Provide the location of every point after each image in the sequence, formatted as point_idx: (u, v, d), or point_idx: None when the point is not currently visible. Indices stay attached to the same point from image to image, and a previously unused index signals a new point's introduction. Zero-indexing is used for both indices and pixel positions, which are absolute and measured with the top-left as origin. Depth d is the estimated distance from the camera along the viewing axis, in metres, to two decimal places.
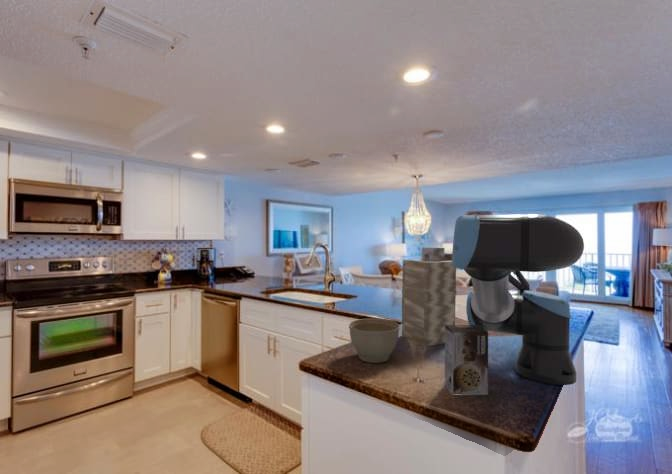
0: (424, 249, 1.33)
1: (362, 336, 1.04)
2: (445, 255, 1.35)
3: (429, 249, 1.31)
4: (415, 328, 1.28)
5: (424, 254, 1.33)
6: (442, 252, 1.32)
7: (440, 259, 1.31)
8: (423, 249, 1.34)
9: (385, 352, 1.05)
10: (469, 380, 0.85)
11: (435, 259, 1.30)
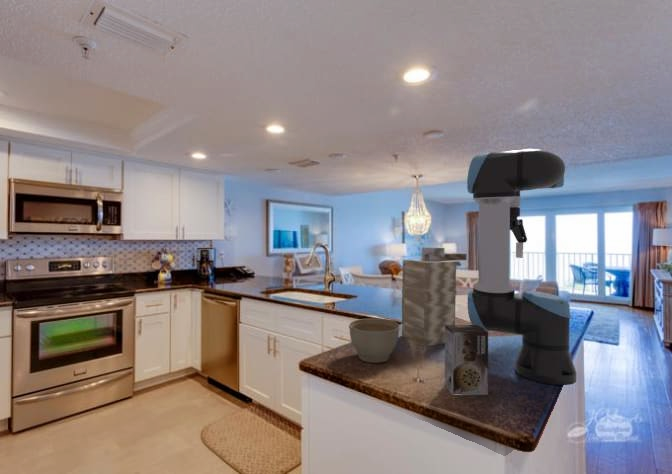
0: (424, 249, 1.33)
1: (362, 336, 1.04)
2: (445, 255, 1.35)
3: (429, 249, 1.31)
4: (415, 328, 1.28)
5: (424, 254, 1.33)
6: (442, 252, 1.32)
7: (440, 259, 1.31)
8: (423, 249, 1.34)
9: (385, 352, 1.05)
10: (469, 380, 0.85)
11: (435, 259, 1.30)
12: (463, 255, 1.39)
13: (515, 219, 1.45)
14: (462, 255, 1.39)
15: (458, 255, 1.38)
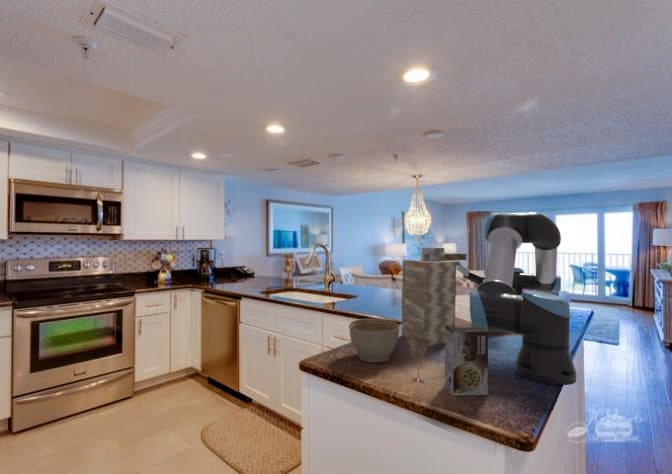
0: (424, 249, 1.33)
1: (362, 336, 1.04)
2: (445, 255, 1.35)
3: (429, 249, 1.31)
4: (415, 328, 1.28)
5: (424, 254, 1.33)
6: (442, 252, 1.32)
7: (440, 259, 1.31)
8: (423, 249, 1.34)
9: (385, 352, 1.05)
10: (469, 380, 0.85)
11: (435, 259, 1.30)
12: (463, 255, 1.39)
13: None
14: (462, 255, 1.39)
15: (458, 255, 1.38)
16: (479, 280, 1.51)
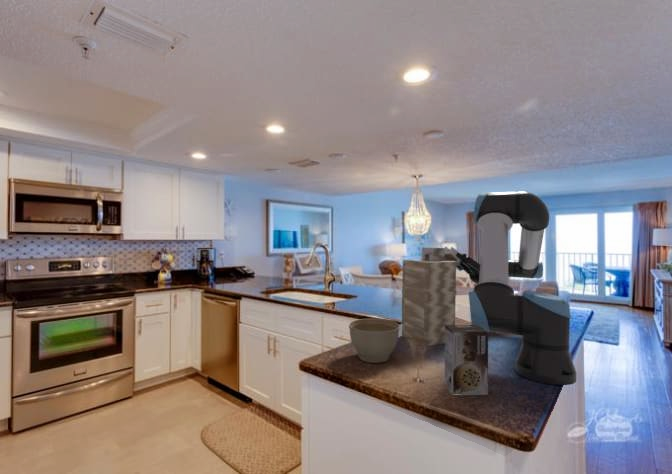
0: (424, 249, 1.33)
1: (362, 336, 1.04)
2: (445, 255, 1.35)
3: (429, 249, 1.31)
4: (415, 328, 1.28)
5: (424, 254, 1.33)
6: (442, 252, 1.32)
7: (440, 259, 1.31)
8: (423, 249, 1.34)
9: (385, 352, 1.05)
10: (469, 380, 0.85)
11: (435, 259, 1.30)
12: None
13: None
14: None
15: None
16: (463, 265, 1.43)
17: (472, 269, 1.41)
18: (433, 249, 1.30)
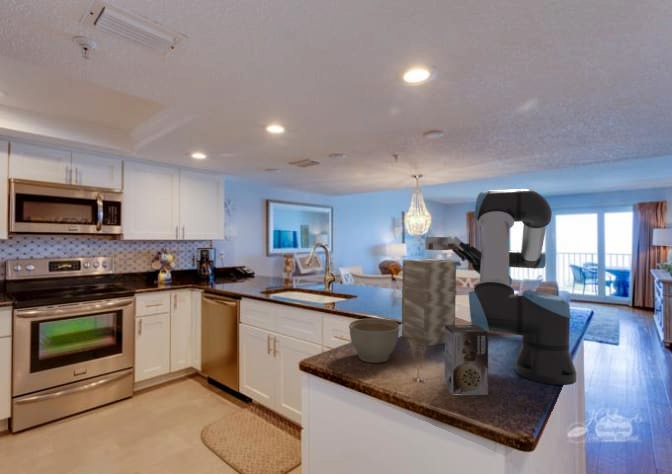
0: (428, 238, 1.34)
1: (362, 336, 1.04)
2: (449, 244, 1.36)
3: (433, 238, 1.32)
4: (415, 328, 1.28)
5: (428, 244, 1.34)
6: (446, 241, 1.33)
7: (444, 248, 1.32)
8: (427, 238, 1.35)
9: (385, 352, 1.05)
10: (469, 380, 0.85)
11: (439, 248, 1.31)
12: None
13: None
14: None
15: None
16: (467, 255, 1.44)
17: (475, 259, 1.42)
18: (437, 238, 1.31)
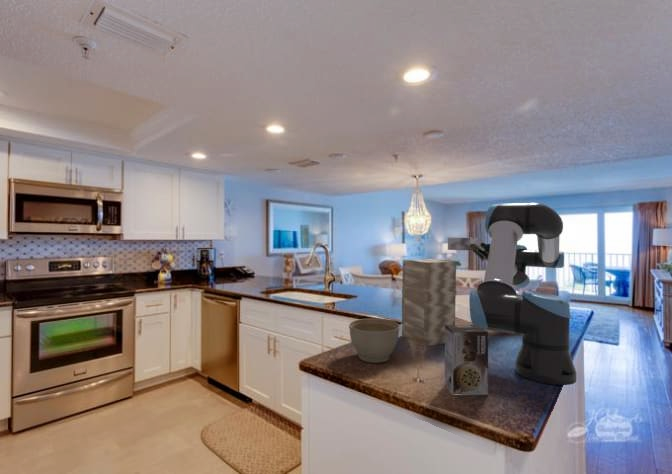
0: (450, 239, 1.40)
1: (362, 336, 1.04)
2: (470, 245, 1.41)
3: (456, 239, 1.37)
4: (415, 328, 1.28)
5: (451, 244, 1.39)
6: (468, 242, 1.38)
7: (466, 248, 1.38)
8: (449, 239, 1.40)
9: (385, 352, 1.05)
10: (469, 380, 0.85)
11: (461, 248, 1.37)
12: None
13: None
14: None
15: None
16: (486, 255, 1.50)
17: None
18: (460, 239, 1.36)
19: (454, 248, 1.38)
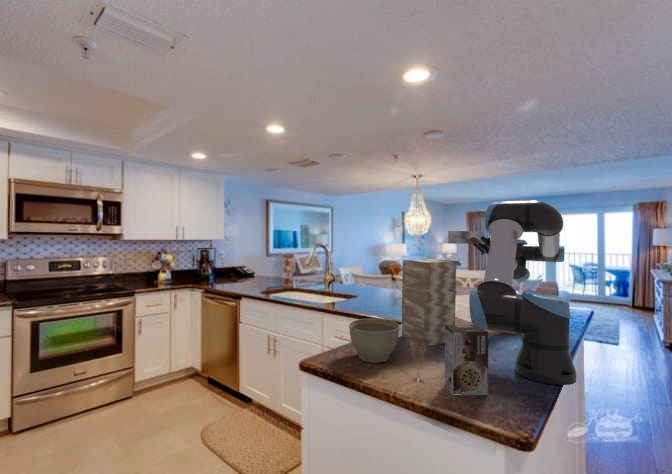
0: (451, 232, 1.40)
1: (362, 336, 1.04)
2: (470, 238, 1.41)
3: (456, 232, 1.37)
4: (415, 328, 1.28)
5: (451, 237, 1.40)
6: (468, 235, 1.38)
7: (466, 242, 1.38)
8: (450, 232, 1.40)
9: (385, 352, 1.05)
10: (469, 380, 0.85)
11: (462, 241, 1.37)
12: None
13: None
14: None
15: None
16: (487, 249, 1.50)
17: None
18: (460, 232, 1.36)
19: (454, 241, 1.38)
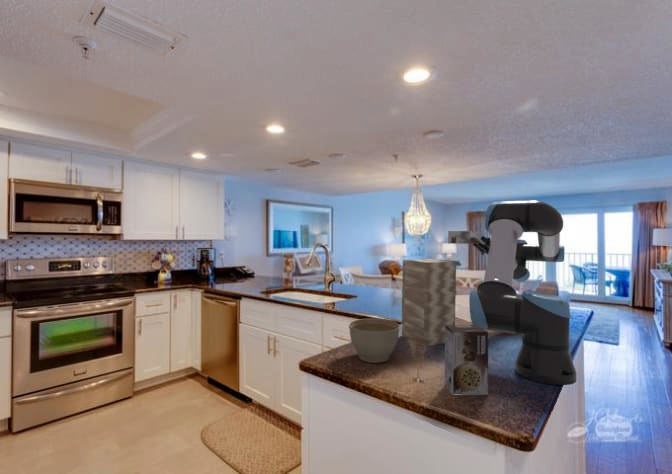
0: (451, 232, 1.40)
1: (362, 336, 1.04)
2: (470, 238, 1.41)
3: (456, 232, 1.37)
4: (415, 328, 1.28)
5: (451, 237, 1.40)
6: (468, 235, 1.38)
7: (466, 242, 1.38)
8: (450, 232, 1.40)
9: (385, 352, 1.05)
10: (469, 380, 0.85)
11: (462, 241, 1.37)
12: None
13: None
14: None
15: None
16: (487, 249, 1.50)
17: None
18: (460, 232, 1.36)
19: (454, 241, 1.38)
